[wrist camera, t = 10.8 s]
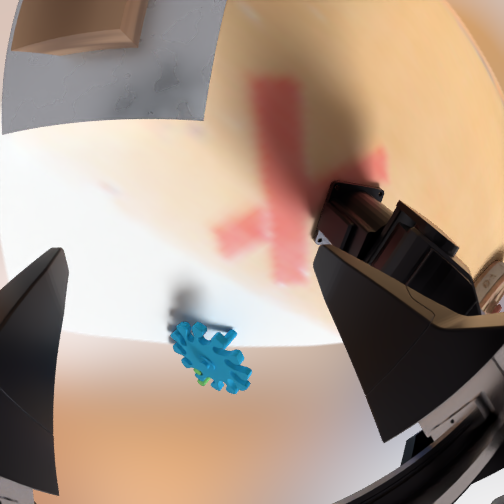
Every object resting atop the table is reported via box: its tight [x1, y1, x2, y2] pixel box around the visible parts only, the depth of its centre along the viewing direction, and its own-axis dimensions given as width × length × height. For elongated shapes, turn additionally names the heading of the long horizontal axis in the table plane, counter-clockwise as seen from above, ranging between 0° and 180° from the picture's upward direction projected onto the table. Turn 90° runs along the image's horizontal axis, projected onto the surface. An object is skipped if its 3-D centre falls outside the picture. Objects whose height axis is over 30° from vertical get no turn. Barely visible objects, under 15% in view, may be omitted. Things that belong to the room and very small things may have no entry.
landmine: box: [474, 261, 504, 314], centre depth 53 cm, size 24×24×10 cm
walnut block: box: [11, 0, 149, 56], centre depth 6 cm, size 5×5×6 cm
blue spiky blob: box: [170, 322, 252, 394], centre depth 29 cm, size 11×6×10 cm
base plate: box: [2, 0, 227, 135], centre depth 9 cm, size 14×14×2 cm
